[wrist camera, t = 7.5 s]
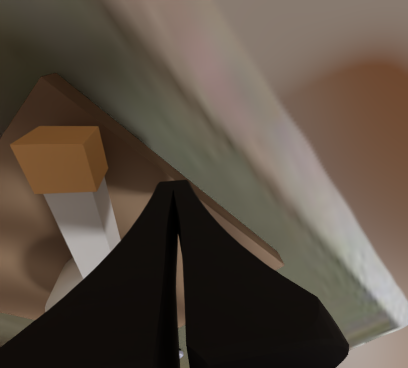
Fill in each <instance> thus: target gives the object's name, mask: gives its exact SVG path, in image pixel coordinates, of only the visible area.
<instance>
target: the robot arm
mask: <svg viewBox="0 0 408 368" xmlns="http://www.w3.org/2000/svg"><path fill="white" fill-rule="evenodd" d="M178 235H179V241H180V247H181V253H182V262H183V282H184V303H185V326H186V346H187V353H188V359H189V366H190V368H336V367H337V366H338V365H339V364H340V363H341V362H342V361H343V360H344V359H345V358H346V357H347V355H348V352H349V344H348V342H347V341H346V339H345V337H344V336H343V334H342V332H341V331H340V329H339V327H338V326H337V324H336V322H335V321H334V320H333V318H332V317H331V315H330V314H329V312H328V311H327V310H326V308H325V307H324V306H323V304H322V303H321V301H320V300H319V299H318V297H316V296H315V295H313V294H311V293H310V292H308V291H307V290H305V289H303V288H302V287H300V286H298V285H297V284H295V283H294V282H292V281H290V280H289V279H287V278H285V277H284V276H282V275H281V274H279V273H278V272H277V271H275V270H274V269H272V268H271V267H269V266H268V265H267V264H265V263H264V262H263V261H261V260H260V259H259V258H257V257H256V256H255V255H254V254H252V253H251V252H250V251H249V250H247V249H246V248H245V247H243V246H242V245H241V244H240V243H239V242H238V241H237V240H235V239H234V238H233V237H232V236H231V235H230V234H229V233H228V232H227V231H226V230H225V229H224V228H223V227H222V226H221V225H220V224H219V223H218V222H217V221H216V220H215V218H214V217H213V216H212V215H211V214H210V213H209V211H208V210H207V209H206V208H205V206H204V205H203V204H202V202H201V201H200V199H199V198H198V197H197V195H196V193H195V192H194V190H193V188H192V186H191V184H190V182H189V181H188V180H187V179H186V180H175V181H163V182H159V183H158V184H157V186H156V188H155V190H154V192H153V194H152V196H151V198H150V200H149V201H148V203H147V205H146V206H145V208H144V209H143V211H142V213H141V214H140V216H139V217H138V218H137V220H136V221H135V223H134V224H133V225H132V227H131V228H130V229H129V231H128V232H127V233H126V235H125V236H124V237H123V238H122V239H121V241H120V242H119V243H118V244H117V245H116V246H115V248H114V249H113V250H112V251H111V252H110V253H109V254H108V255H107V256H106V257H105V258H104V259H103V260H102V261H101V263H100V264H99V265H98V266H97V267H96V268H95V269H94V270H93V271H92V272H90V273H89V274H88V275H87V276H86V277H85V278H84V279H83V280H82V281H81V282H80V283H79V284H77V285H76V286H75V287H74V288H73V289H72V290H71V291H70V292H69V293H68V294H66V295H65V296H64V297H63V298H62V299H61V300H60V301H58V302H57V303H56V304H55V305H54V306H52V307H51V308H50V309H49V310H48V311H46V312H45V313H44V314H43V315H41V316H40V317H39V318H37V319H36V320H35V321H34V322H32V323H31V324H30V325H29V326H27V327H26V328H25V329H24V330H22V331H21V332H20V333H19V334H17V335H16V336H15V337H13V338H12V339H11V340H10V341H8V342H7V343H6V344H4V345H3V346H2V347H0V368H180V358H181V357H183V351H179V337H178V317H177V295H176V276H177V253H178Z"/></svg>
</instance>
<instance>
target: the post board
mask: <svg viewBox="0 0 408 368" xmlns="http://www.w3.org/2000/svg"><path fill="white" fill-rule="evenodd" d="M39 126H98V127H99V131H100V135H101V140H102V144H103V148H104V152H105V156H106V161H107V165H108V170H107V172H106V174H105V176H104V177H105V181H106V185H107V189H108V192H109V196H110V200H111V204H112V208H113V212H114V216H115V220H116V224H117V228H118V232H119V236H120V240H121V239H122V238H123V237H124V236H125V235H126V233H127V232H128V231H129V229H130V228H131V227H132V225H133V224H134V223H135V221H136V220H137V218H138V217H139V216H140V214H141V213H142V211H143V209H144V208H145V206H146V205H147V203H148V201H149V200H150V198H151V196H152V194H153V192H154V190H155V188H156V186H157V184H158V183H159V182H163V181H175V180H186V179H187V178H185V177H184V176H183V175H182V174H180V173H179V172H178V171H177V170H175V169H174V168H173V167H172V166H171V165H169V164H168V163H167V162H166V161H164V160H163V159H162V158H161V157H159V156H158V155H157V154H156V153H154V152H153V151H152V150H151V149H150V148H148V147H147V146H146V145H145V144H143V143H142V142H141V141H140V140H138V139H137V138H136V137H135V136H133V135H132V134H131V133H130V132H129V131H127V130H126V129H125V128H124V127H122V126H121V125H120V124H119V123H117V122H116V121H115V120H114V119H112V118H111V117H110V116H109V115H108V114H106V113H105V112H104V111H103V110H101V109H100V108H99V107H98V106H96V105H95V104H94V103H93V102H91V101H90V100H89V99H88V98H87V97H85V96H84V95H83V94H82V93H80V92H79V91H78V90H77V89H75V88H74V87H73V86H72V85H70V84H69V83H68V82H67V81H66V80H64V79H63V78H62V77H61V76H59V75H58V74H57V73H53V74H49V75H45V76H41V77H40V79H39V80H38V82H37V83H36V85H35V86H34V88H33V89H32V91H31V92H30V94H29V95H28V97H27V98H26V100H25V101H24V103H23V104H22V106H21V108H20V109H19V111H18V112H17V114H16V115H15V117H14V118H13V120H12V121H11V123H10V124H9V126H8V127H7V129H6V130H5V132H4V133H3V135H2V136H1V138H0V312H1V313H6V314H10V315H15V316H20V317H24V318H29V319H33V320H36V319H37V318H39V317H40V316H41V315H43V314H44V313H45V306H46V303H47V300H48V298H49V296H50V294H51V292H52V290H53V288H54V286H55V284H56V281H57V279H58V277H59V275H60V273H61V271H62V269H63V267H64V265H65V264H66V263H67V262H68V260H70V259H71V258H72V257H73V256H72V254H71V251H70V249H69V247H68V245H67V243H66V241H65V239H64V237H63V235H62V232H61V230H60V228H59V226H58V224H57V222H56V220H55V218H54V216H53V213H52V211H51V209H50V207H49V205H48V203H47V201H46V199H45V197H44V194H34V192H33V190H32V188H31V186H30V184H29V182H28V180H27V178H26V176H25V174H24V172H23V170H22V168H21V166H20V164H19V162H18V160H17V158H16V156H15V154H14V152H13V150H12V149H11V147H10V144H12V143H13V142H15V141H16V140H18V139H20V138H21V137H23V136H24V135H26V134H27V133H29V132H31V131H32V130H34V129H35V128H37V127H39ZM187 180H188V179H187ZM188 181H189V180H188ZM189 182H190V181H189ZM190 184H191V186H192V188H193V190H194V192H195V193H196V195H197V197H198V198H199V199H200V201H201V202H202V204H203V205H204V206H205V208H206V209H207V210H208V211H209V213H210V214H211V215H212V216H213V217H214V218H215V220H216V221H217V222H218V223H219V224H220V225H221V226H222V227H223V228H224V229H225V230H226V231H227V232H228V233H229V234H230V235H231V236H232V237H233V238H234V239H235V240H237V241H238V242H239V243H240V244H241V245H242V246H243V247H245V248H246V249H247V250H249V251H250V252H251V253H252V254H254V255H255V256H256V257H257V258H259V259H260V260H261V261H263V262H264V263H265V264H267V265H268V266H269V267H271V268H272V269H274V270H277V269H279V268H280V267H282V266H284V263H283V261H282V259H281V257H280V256H279V254H278V252H277V251H276V250H274V249H273V248H272V247H271V246H269V245H268V244H267V243H266V242H264V241H263V240H262V239H261V238H260V237H258V236H257V235H256V234H255V233H253V232H252V231H251V230H250V229H248V228H247V227H246V226H245V225H243V224H242V223H241V222H240V221H239V220H237V219H236V218H235V217H234V216H232V215H231V214H230V213H229V212H227V211H226V210H225V209H224V208H222V207H221V206H220V205H219V204H217V203H216V202H215V201H214V200H213V199H211V198H210V197H209V196H208V195H206V194H205V193H204V192H203V191H201V190H200V189H199V188H198V187H196V186H195V185H194V184H193V183H192V182H190ZM176 295H177V317H178V328H179V327H181V326H183V325H185V303H184V282H183V262H182V253H181V247H180V241H179V235H178V253H177V276H176Z"/></svg>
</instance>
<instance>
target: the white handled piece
mask: <svg viewBox="0 0 408 368" xmlns="http://www.w3.org/2000/svg"><path fill="white" fill-rule="evenodd" d="M10 147H11V149H12V150H13V152H14V154H15V156H16V158H17V160H18V162H19V164H20V166H21V168H22V170H23V172H24V174H25V176H26V178H27V180H28V182H29V184H30V186H31V188H32V190H33V192H34V194H44V197H45V199H46V201H47V203H48V205H49V207H50V209H51V211H52V213H53V216H54V218H55V220H56V222H57V224H58V226H59V228H60V230H61V232H62V235H63V237H64V239H65V241H66V243H67V245H68V247H69V249H70V251H71V254H72V256H73V257H72V258H71V259H70V260H68V262H67V263H66V264H65V265H64V267H63V269H62V271H61V273H60V275H59V277H58V279H57V281H56V284H55V286H54V288H53V290H52V292H51V294H50V296H49V298H48V300H47V303H46V306H45V312H46V311H48V310H49V309H50V308H51V307H52V306H54V305H55V304H56V303H57V302H58V301H60V300H61V299H62V298H63V297H64V296H65V295H66V294H68V293H69V292H70V291H71V290H72V289H73V288H74V287H75V286H76V285H77V284H79V283H80V282H81V281H82V280H83V279H84V278H85V277H86V276H87V275H88V274H89V273H90V272H92V271H93V270H94V269H95V268H96V267H97V266H98V265H99V264H100V263H101V261H102V260H103V259H104V258H105V257H106V256H107V255H108V254H109V253H110V252H111V251H112V250H113V249H114V248H115V246H116V245H117V244H118V243H119V242H120V241H121V240H120V236H119V232H118V228H117V224H116V220H115V216H114V212H113V208H112V204H111V200H110V196H109V192H108V189H107V185H106V181H105V177H104V176H105V174H106V172H107V170H108V165H107V161H106V156H105V152H104V148H103V144H102V140H101V135H100V131H99V127H98V126H39V127H37V128H35V129H34V130H32V131H31V132H29V133H27V134H26V135H24V136H23V137H21V138H20V139H18V140H16V141H15V142H13V143H12V144H10Z"/></svg>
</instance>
